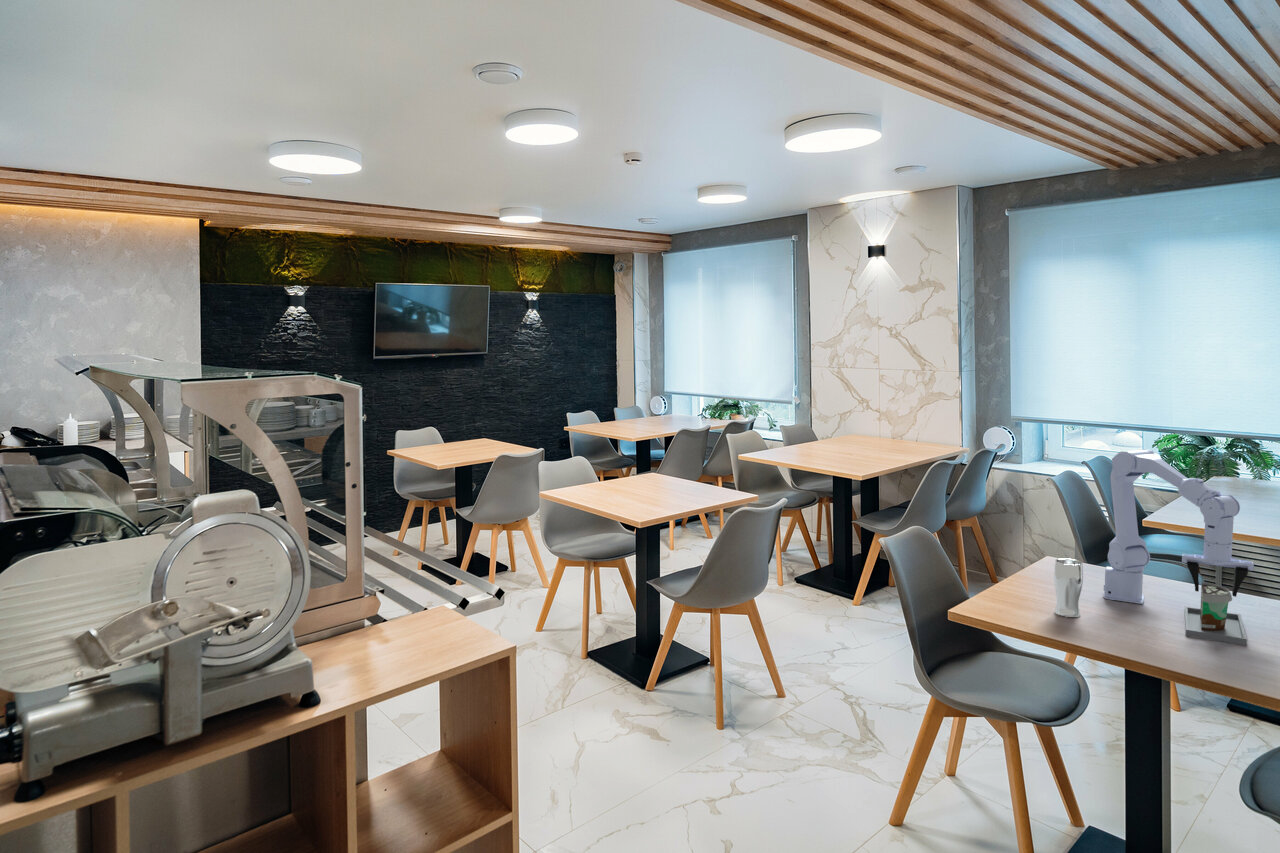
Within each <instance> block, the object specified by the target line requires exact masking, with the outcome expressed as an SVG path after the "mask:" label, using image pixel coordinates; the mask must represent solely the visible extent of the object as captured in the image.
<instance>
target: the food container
mask: <svg viewBox="0 0 1280 853" xmlns="http://www.w3.org/2000/svg"><path fill="white" fill-rule="evenodd" d="M1200 591H1201V592H1200V594H1201V595H1200V609H1201V610H1200V623H1201V630H1205V631H1221V630H1224V629H1225V622H1226V616H1227V613H1228V608H1229V607H1228V606H1229V602H1232V600H1233V595H1232V592H1230V589H1228V588H1227V587H1225V586H1222V585H1220V584H1215V583H1211V582H1205V581H1201V588H1200Z"/></svg>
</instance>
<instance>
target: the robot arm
mask: <svg viewBox="0 0 1280 853" xmlns="http://www.w3.org/2000/svg"><path fill="white" fill-rule="evenodd" d="M1111 463H1112V464H1111V466H1112V468H1111V473H1110V475H1109V476H1110V478H1109V479H1110V486H1111V489H1110V490H1111V499H1112V508H1113V517H1114V529H1115V536H1114V538H1113V539H1112V540H1111V541H1110V542H1109V544H1108V547H1109V549H1108V553H1107V561H1108V564H1110V566H1105V573H1104V584H1103V591H1104V594H1103V595H1104V597H1103V598H1104V599H1106V600H1112V601H1118V602H1119V601H1120V602H1126V603H1134V604H1140V605H1144V598H1145V595H1144V594H1143V585H1144V584H1143V583H1144V582H1143V580H1144V570H1145V569H1146V566H1148V564H1149V563H1150V562H1151V554H1150V552H1149V550H1148V548H1147V544H1146V541H1145V540H1144V539H1143V538H1142V537H1140V536H1139V528H1138V518H1137V517H1138V516H1137V507H1136V499H1135V488H1134V483H1135V481H1137V479H1138V478H1140V477H1141V476H1142V475H1144V474H1146V473H1149V474H1150V473H1151V474H1154V475H1156V476H1157V477H1158V478H1160V479H1162V480H1164V481H1165V482H1167V483H1169V484H1171V485H1172V486H1174V487H1176V488H1177V489H1178V494H1179V495H1180V496H1181V497H1183V498H1185V500H1187V501H1189V502H1191V503H1192V504H1194V505H1195V506H1196V507H1198V508H1199V510H1200V513H1201V514H1202V515H1203V523H1204V536H1203V538H1204V539H1203V554H1187V553H1182V555H1181V563H1183V564H1186V566H1187V567H1186V568H1188V570H1189V573H1190V575H1191V578H1192V580H1193V584H1194V591H1195V592H1199V590H1200V587H1199V576H1200V575H1199V573H1200V565H1206V566H1214V567H1215V566H1216V567H1224V568H1232V569H1233V584H1232V592H1231V596H1232V597H1237V595H1238V594H1237V593H1238V590H1239V589H1240V586H1241V584H1242V583H1243V581H1244V580H1245V579H1246V578H1247V576H1248V573H1249V571H1252V572H1253V571H1254V565H1255V564H1254V561H1250V560H1244V559H1239V558H1232V554H1233V553H1232V552H1233V535H1234V519H1235V518H1234V517H1236V516H1237V515H1238V514H1239V512H1240V509H1241V507H1240V506H1241V505H1240V503H1239V501H1238V500H1237V499H1236V498H1235V497H1234V496H1233V495H1232V494H1231V495H1230V494H1222V493H1221V491H1220V490H1217V489H1214V488H1212V487H1210V486H1209V485H1207V484H1206V483H1204V480H1203V479H1201V478H1196V477H1189V478H1188V477H1187V476H1185V475H1184V474H1182V472H1180V471H1179V470H1177V469H1176V468H1174V467H1173V466H1171V465H1170V464H1169V463H1168V462H1166V461H1165V460H1163V459H1162V457H1161V455H1160V454H1159V453H1158V454H1157V453H1155V452H1154V451H1153V450H1151V449H1148V448H1143V449H1138V450H1123V451H1120V452H1117V454H1115V455H1114V456H1113V457H1112V458H1111Z"/></svg>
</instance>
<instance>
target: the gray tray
mask: <svg viewBox="0 0 1280 853" xmlns="http://www.w3.org/2000/svg"><path fill="white" fill-rule="evenodd" d="M1200 610H1201V608H1197V607H1190V606H1184V628H1185V630H1184V631H1185V636H1186V637H1193V638H1199V639H1202V640H1203V639H1204V640H1211V641H1218V642H1222V641H1224V642H1223V643H1228V642H1229V644H1234V643H1235V644H1236V645H1241V646H1247V642H1248V641H1247V640H1248V639H1247V635H1246V630H1245V627H1244V623H1243V618H1242V614H1239V613H1233V612H1232V613H1231V612H1227V616H1226V622H1225V629H1224V630H1221V631H1205V630H1201V623H1200Z"/></svg>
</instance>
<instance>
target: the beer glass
mask: <svg viewBox="0 0 1280 853" xmlns="http://www.w3.org/2000/svg"><path fill="white" fill-rule="evenodd" d="M1083 568H1084V566H1083V562H1082V561H1080V560H1077V559H1073V558H1057V559H1055V561H1054V569H1053V570H1054V572H1053V582H1054V584H1053V585H1054V589H1055V594H1056V595H1055V596H1056V604H1055V610H1054V614H1056V615H1057V614H1058V615H1057V616H1059V615H1061V616H1060V617H1062V616H1065V617H1064V618H1067V617H1077V618H1080V616H1081V613H1080V607H1079V606H1080V605H1079V603H1080V602H1079V601H1080V598H1081V592H1082V588H1083V583H1084V569H1083Z"/></svg>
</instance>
